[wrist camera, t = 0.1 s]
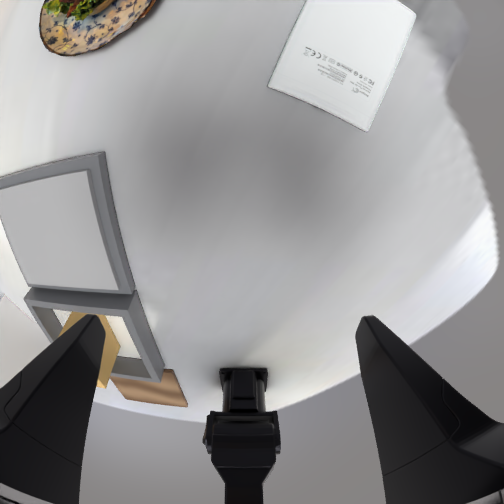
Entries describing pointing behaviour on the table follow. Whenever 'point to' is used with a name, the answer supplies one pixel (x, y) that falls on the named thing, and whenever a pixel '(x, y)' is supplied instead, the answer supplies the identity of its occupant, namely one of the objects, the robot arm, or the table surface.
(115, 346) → the ochre module
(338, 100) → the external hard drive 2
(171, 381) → the walnut board
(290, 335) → the table surface
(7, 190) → the equipment case
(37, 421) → the robot arm
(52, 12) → the burger
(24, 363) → the milk
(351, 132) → the table surface
